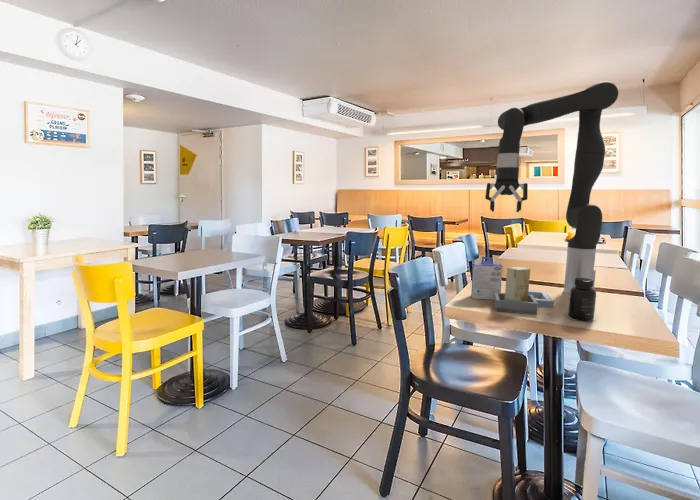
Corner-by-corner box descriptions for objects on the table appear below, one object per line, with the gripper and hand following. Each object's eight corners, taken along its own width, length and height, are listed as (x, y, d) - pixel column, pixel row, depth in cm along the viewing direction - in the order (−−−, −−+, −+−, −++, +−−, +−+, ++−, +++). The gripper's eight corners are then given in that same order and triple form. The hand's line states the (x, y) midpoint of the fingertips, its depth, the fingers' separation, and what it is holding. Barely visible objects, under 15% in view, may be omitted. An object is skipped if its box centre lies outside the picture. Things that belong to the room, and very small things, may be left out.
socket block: (546, 297, 148) (546, 291, 148) (553, 307, 134) (554, 301, 134) (507, 294, 151) (507, 289, 151) (511, 304, 138) (511, 298, 138)
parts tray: (531, 305, 137) (532, 295, 136) (537, 314, 126) (538, 303, 126) (493, 302, 140) (494, 292, 140) (495, 311, 130) (496, 300, 129)
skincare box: (514, 308, 130) (517, 269, 128) (503, 304, 133) (506, 267, 132) (528, 305, 133) (531, 268, 131) (517, 302, 136) (519, 266, 135)
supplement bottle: (562, 315, 126) (566, 276, 124) (584, 314, 127) (587, 276, 125) (577, 322, 119) (580, 281, 118) (599, 321, 120) (603, 281, 118)
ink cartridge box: (498, 296, 148) (501, 257, 146) (501, 300, 142) (504, 259, 140) (470, 295, 150) (472, 255, 148) (471, 298, 144) (473, 258, 142)
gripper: (527, 167, 150) (524, 212, 152) (486, 167, 153) (484, 211, 156) (530, 166, 142) (527, 212, 145) (487, 166, 146) (484, 211, 149)
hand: (505, 211), depth 150 cm, fingers open, 8 cm apart
